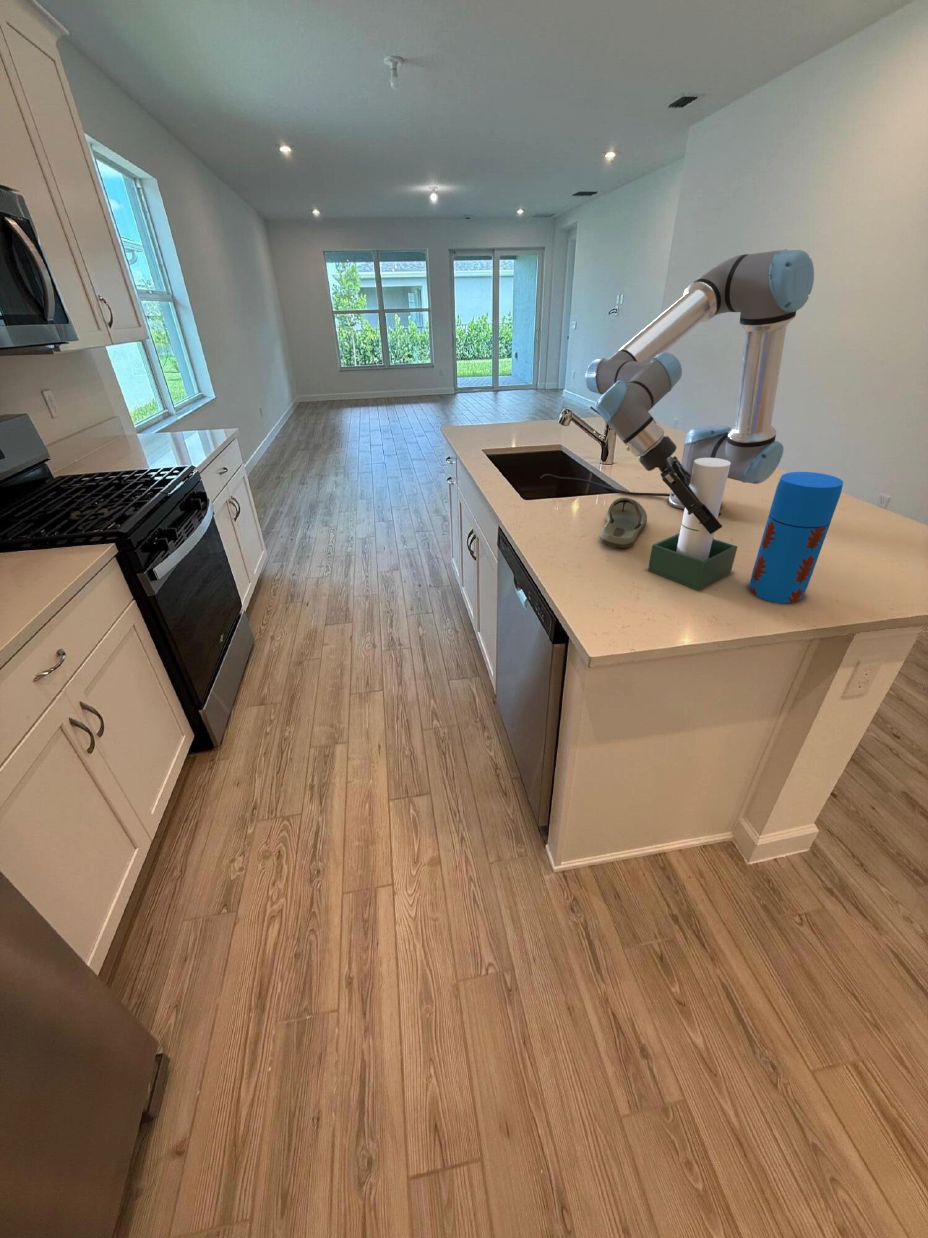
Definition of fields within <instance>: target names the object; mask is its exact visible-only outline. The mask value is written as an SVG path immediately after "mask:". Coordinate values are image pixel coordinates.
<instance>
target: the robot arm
mask: <svg viewBox="0 0 928 1238" xmlns="http://www.w3.org/2000/svg"><path fill="white" fill-rule="evenodd" d="M814 280H815V269H814V263H813V259H812V258H811V256H810V254H808V252H806V251H804V250H802V249H779V250H772V251H771V250H770V251H764V252H755V253H750V254H749V253H745V254H739V255H736V256H735V255H734V256H732V257H730V258H727V259H726V260H724V261H722V262H720V263H718V264H717V265H715V266H713V267H712V268H710V269H709V270H707V271H705V272H704V273H703V274H702V275H701V276H699V277H698V278H696V279H695V280H694V281H693V282H692V283H691V284H689V285H688V286H687V287H686V288H685V289H684V292H683V294H682V297H680V298H679V299H677V301H675V302H674V303H673V304H672V305H670V307H668V308H667V309H666V310H665V311H663V312H662V313H661V314H660V315H659V316H657V318H655V319H654V320H653V321H652V322H651V323H649V324H648V325H647V326H646V327H644V329H642V330H641V331H640V332H638V333H637V334H636V335H635V336H633V338H632V339H630V340H629V341H628V342H626V343H625V344H624V345H623V346H621V348H619V350H617V351H616V352H614V353H613V354H612V355H611V356H609V357H608V358H605V357H603V358H597V359H594V360H592V361H591V363H589V365H588V367H587V368H586V371H585V377H584V382H585V385H586V387H587V389H588V391H590V392H592V393H594V394H599V395H600V397H599V398H598V399H597V400H596V402H595V404H594V407H595V410H596V411H597V413H598V414H599V416H600V417H601V418H602V420H603V422H604V423H606V424H607V425H608V426H609V428H610V429H611V430H612V431H613V432H614V433H615V434H616V436H617V437H618V438H619V439H620V440H621V441H622V442H623V443H624V444H625V446H626V447H625V449H626V451H627V452H631V453H632V454H633V455H634V456H635V457H638V462H639V463H640V464H641V465H642V466H643V467H644V469H645V470H646V471H648V472H651V471H653V470H655V469H658V470H659V471H660V473H659V474H660V477H661V480H662V482H664V483H665V484H666V486H667V487H668V488H669V490H671V492H670V493H663V492H635V491H626V490H621V489H619V488H616V487H611V486H609V485H605V484H603V483H599V482H597V481H593V480H589V479H584V478H583V479H582V478H577V477H566V476H558V475H555V474H551V473H545V474H542V475H541V477H540V479H544V478H548V477H549V478H552V479H556V480H563V481H574V482H581V483H586V484H590V485H594V486H597V487H600V488H604V489H606V490H610V491H613V492H616V493H619V494H623V495H629V496H644V497H646V496H648V497H649V496H650V497H668V504H669V505H670V506H672V507H673V508H676V509H679V510H682V511H684V510H685V508H686V509H687V510H688V514H689V515H690V514H692V513H693V514H694V515H695V516H696V517H697V519H698V520H699V521H700V522H701V523H702V525H703V526H704V527H705V528H706V529H707V531H708V532H709V533H710V534H712V533H714V534H715V532H717V531H719V530H721V529H722V528H723V525H722V524H721V523H720V521H719V520H718V519H716V518H715V517H714V516H713V514H712V513H711V512H710V511H709V510H708V508H707V507H706V506H705V505H704V504H703V505H702V503H701V502H700V501H699V499H698V498H697V496H696V495H695V494H694V492H693V491H692V489H691V488H690V487H689V485H690V480H691V475H692V470H693V464H694V460H696V459H699V458H719V459H724V460H727V461H729V462H730V463H731V464H730V468H729V473H728V477H727V479H731V480H734V481H738V482H741V483H744V484H746V483H747V484H753V485H759V484H762V483H764V482H765V481H767V480H768V479H769V478H770V477H771V476H772V475H773V474H774V473H775V471H776V470H777V468H778V467H779V464H780V463H781V460H782V457H783V455H784V446H783V444H782V442H780V441H778V440H777V441H776V437H777V429H776V428H775V427H773V426H772V421H773V414H774V408H775V401H776V396H777V390H778V383H779V376H780V369H781V364H782V358H783V352H784V345H785V340H786V339H785V338H786V332H787V328H788V327H787V326H788V325H789V324H790V323H791V322H792V321H793V320H794V319H795V318H796V315H797V311H799V310H801V309H802V308H803V307H804V306H805V305H806V303H807V302H808V300H809V298H810V297H809V295H811V293H812V290H813V287H814ZM726 313H739V314H740V315H739V325H740V327H742V329H744V340H743V341H744V342H743V349H742V350H743V351H742V359H741V367H740V375H739V385H738V392H737V393H738V394H737V403H736V412H735V418H734V419H735V420H734V427H733V428H732V427H731V426H728V425H709V426H700V427H695V428H692V429H690V430H688V432H687V434H686V438H685V442H684V443H683V451H682V452H683V453H682V456H681V457H682V458H681V462H680V460H679V459H678V457H677V456H675V455H674V453H675V452H676V450H677V445H676V444H675V442H674V441H673V440H672V439H671V438H670V436H669V435H665V433H666V432H665V430H664V428H662V426H661V425H660V424H659V422H657V420H656V419H655V418H654V416H652V414H651V413H650V411H651V409H652V408H654V406H655V405H656V404H658V403H659V402H660V401H661V400H662V399H663V398H664V397H665V396H666V395H667V394H668V393H670V392H671V391H672V390H673V388H674V386H676V384H677V383H678V382H679V381H680V380H681V378H682V375H683V368H682V364H681V362H680V360H679V359H678V357H676V356H675V354H672V353H670V352H668V350H670V349H671V348H672V347H674V346H675V344H677V343H678V342H679V341H680V340H682V339H683V338H684V337H685V336H686V335H687V334H689V333H690V332H691V331H692V330H693V329H695V328H696V327H697V326H698V325H699V324H701V323H702V324H703V323H707V322H709V321H710V320H711V319H713V318H714V317H715V316H719V315H721V314H726ZM672 455H673V456H672ZM693 504H694V505H693ZM721 515H722V513H721V512H720V511H719V515H718V517H720V516H721Z"/></svg>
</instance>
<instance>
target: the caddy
mask: <svg viewBox="0 0 928 1238" xmlns="http://www.w3.org/2000/svg"><path fill="white" fill-rule="evenodd" d="M679 535H680V532H679V533H678V532H677V533H676V534H674V535H671V536H668V537H667V538H665V539H663V540H660V541H658V542H656V543H653V544H652V545H651V550H650V556H649V561H648V568H647V571H648V572H650V573H654V574H655V575H658V576H660V577H663V578H666V579H669V580H670V581H673V582H676V583H679V584H680V585H683V586H686V587H688V588H690V589H694V590H696V591H700V590H702V589H704V588H705V587H708V586H710V585H711V584H713V583H714V582H717V581H718V580H720V579H722V578H723V577H726V576H727V575H729V574H731V573H732V569H733V567H734V562H735V558H736V555H737V551H738V547H739V546H737V545H734V544H731V543H729V542H726V541H722V540H718V539H715V538H713V540H712V544H711V549H710V553H709V557H708V559H707V560H705V561H700V560H698V559H695V558H692V557H689V556H686V555H683V554H681V553H678V552H676V550H677V545H678V540H679Z"/></svg>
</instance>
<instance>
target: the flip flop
mask: <svg viewBox="0 0 928 1238" xmlns="http://www.w3.org/2000/svg"><path fill="white" fill-rule="evenodd" d="M647 521H648V514H647V512H646V510H645V509H644V507H643V506H642V505H641V503H640V502H638V501H636V500H635V499H632V498H630V497H619V498H616V499H615V500H613V501H612V502H611V504H610V505H609V507H608V509H607V511H606V513H605V522H606V523H605V525H604V526H603V527H602V529H601V531H600V533H599V537H598V538H599V541H600V543H601V544H602V545H606V546H609V547H613V548H617V549H628V548H631V547H632V546H633V545H634V544H635V542H636V539H637V537H638V535H639V534H640V533H641V532H642V531H643V530H644V528H645V527H646V525H647V523H648V522H647Z"/></svg>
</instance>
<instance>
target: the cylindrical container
mask: <svg viewBox="0 0 928 1238" xmlns="http://www.w3.org/2000/svg"><path fill="white" fill-rule="evenodd" d="M730 464H731V463H730V462H729V461H727V460H724V459H719V458H699V459H696V460H694V464H693V470H692V475H691V480H690V485H689V487H690V488H691V489H692V491H693V492H694V494H695V495H696V496H697V498H698V499H699V501H700V502H701V503H702V505H703V504H704V505H705V506H706V507H707V508H708V510H709V511H710V512H711V513H712V514H713V516H714V517H715V518H716V519H717V520H718V518H719V516H718V515H719V512H720V510H721V506H722V502H723V497H724V493H725V489H726V485H727V482H728V478H727V477H728V473H729V468H730ZM693 505H694V504H693ZM682 515H683V516H682V520H681V526H680V531H679V533H680V535H679V540H678V545H677V550H676V552H678V553H681V554H683V555H686V556H689V557H692V558H695V559H698V560H700V561H705V560H707V559H708V557H709V553H710V549H711V544H712V540H713V539H714V535H715V532H714V533H712V534H710V533H709V532H708V531H707V529H706V528H705V527H704V526H703V525H702V523H701V522H700V521H699V520H698V519H697V517H696V516H695V515H694V514H693V513H692V514H690V515H689V514H688V510H687V509H686V508H685V510H683V514H682Z"/></svg>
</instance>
